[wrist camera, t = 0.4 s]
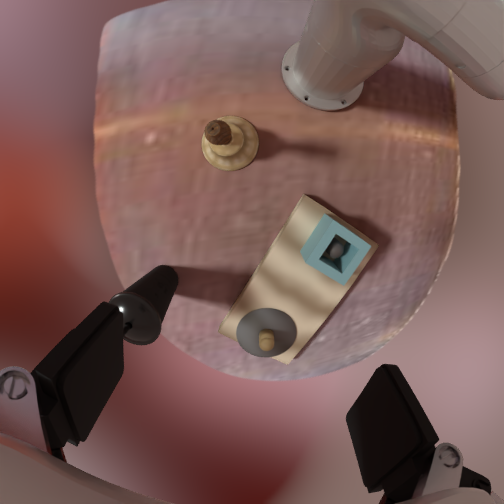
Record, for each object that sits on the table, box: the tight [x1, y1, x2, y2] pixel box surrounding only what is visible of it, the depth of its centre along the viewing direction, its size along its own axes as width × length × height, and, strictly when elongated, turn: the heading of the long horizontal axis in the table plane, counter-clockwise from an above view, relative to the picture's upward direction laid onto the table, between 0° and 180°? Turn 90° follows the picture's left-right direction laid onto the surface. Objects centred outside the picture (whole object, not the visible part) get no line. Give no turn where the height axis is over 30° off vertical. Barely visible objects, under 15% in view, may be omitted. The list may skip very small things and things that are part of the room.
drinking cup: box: [109, 265, 178, 345], centre depth 34 cm, size 8×8×20 cm
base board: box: [218, 194, 379, 365], centre depth 41 cm, size 27×14×6 cm, turn 150°
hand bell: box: [202, 116, 259, 171], centre depth 30 cm, size 8×8×16 cm
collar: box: [300, 213, 371, 286], centre depth 37 cm, size 7×7×5 cm
